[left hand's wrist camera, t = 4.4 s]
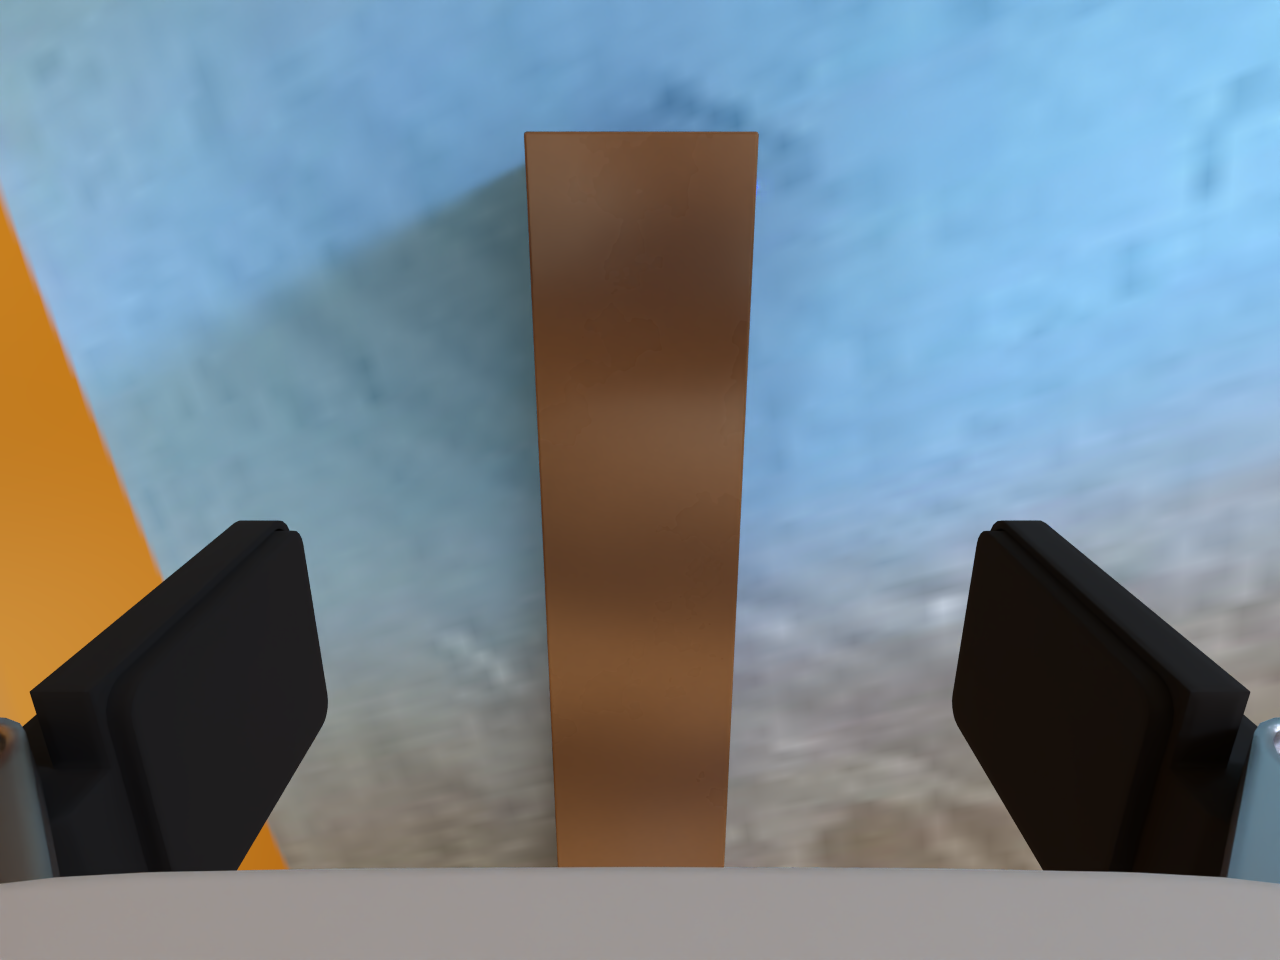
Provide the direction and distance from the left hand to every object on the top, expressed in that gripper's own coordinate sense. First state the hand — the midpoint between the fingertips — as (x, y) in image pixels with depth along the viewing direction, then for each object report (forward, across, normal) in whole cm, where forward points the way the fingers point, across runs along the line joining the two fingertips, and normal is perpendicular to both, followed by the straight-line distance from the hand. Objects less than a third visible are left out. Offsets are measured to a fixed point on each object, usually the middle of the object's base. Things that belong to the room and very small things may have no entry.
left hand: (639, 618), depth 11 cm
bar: (+15, 0, -18) cm, 24 cm away
